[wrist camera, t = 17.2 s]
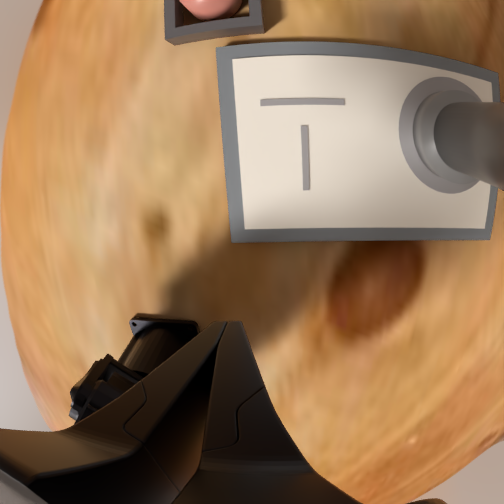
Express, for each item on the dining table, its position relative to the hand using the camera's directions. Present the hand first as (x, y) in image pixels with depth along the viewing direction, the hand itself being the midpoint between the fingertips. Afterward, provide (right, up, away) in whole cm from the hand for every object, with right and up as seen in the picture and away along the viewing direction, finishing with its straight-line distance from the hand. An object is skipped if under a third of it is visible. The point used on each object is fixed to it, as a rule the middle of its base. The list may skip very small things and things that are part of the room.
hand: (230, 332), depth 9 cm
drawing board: (+9, +10, +9) cm, 16 cm away
